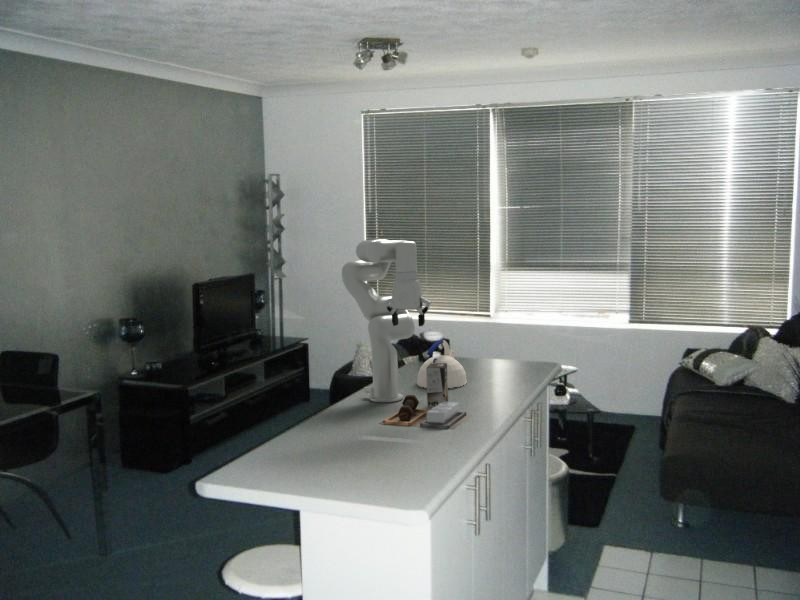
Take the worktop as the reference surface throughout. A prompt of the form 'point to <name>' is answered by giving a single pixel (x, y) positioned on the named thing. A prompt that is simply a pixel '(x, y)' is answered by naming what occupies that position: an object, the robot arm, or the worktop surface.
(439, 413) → the bar
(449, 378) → the kettle
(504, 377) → the worktop surface
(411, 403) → the bolt
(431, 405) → the coffee box
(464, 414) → the wooden tray
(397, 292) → the robot arm
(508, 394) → the worktop surface
